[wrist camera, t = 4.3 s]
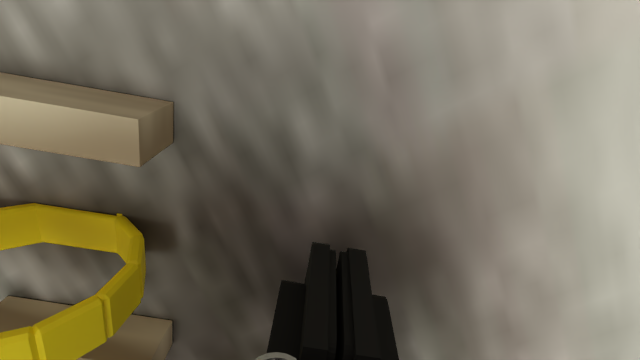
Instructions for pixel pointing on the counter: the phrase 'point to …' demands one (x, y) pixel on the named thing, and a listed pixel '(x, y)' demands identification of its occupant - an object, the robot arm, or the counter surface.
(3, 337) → the watch
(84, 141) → the trap lane
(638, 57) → the counter surface
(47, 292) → the counter surface
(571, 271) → the counter surface
